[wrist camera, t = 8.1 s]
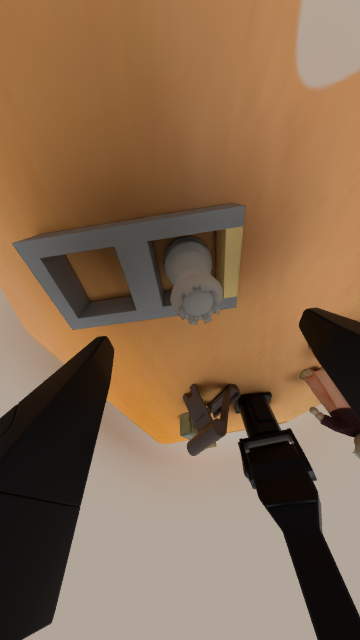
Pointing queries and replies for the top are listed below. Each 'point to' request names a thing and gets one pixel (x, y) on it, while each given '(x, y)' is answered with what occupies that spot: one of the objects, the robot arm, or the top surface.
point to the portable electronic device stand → (209, 417)
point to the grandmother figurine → (333, 406)
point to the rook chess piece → (192, 280)
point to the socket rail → (132, 263)
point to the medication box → (189, 427)
